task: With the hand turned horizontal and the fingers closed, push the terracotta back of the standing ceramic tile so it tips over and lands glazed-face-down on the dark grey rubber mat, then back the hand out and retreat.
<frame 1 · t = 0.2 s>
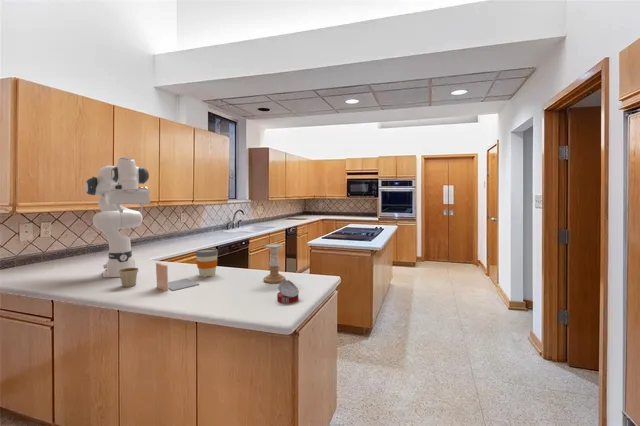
hand: (131, 212, 174), 39 cm above the countertop, tool pointing down, fingers open, 8 cm apart
canned food: (288, 300, 147), on the countertop
candle holder: (274, 280, 179), on the countertop
mat: (179, 284, 171), on the countertop
flower pot: (129, 285, 171), on the countertop
reusable coffee cup: (207, 275, 191), on the countertop
tile: (162, 288, 165), on the countertop
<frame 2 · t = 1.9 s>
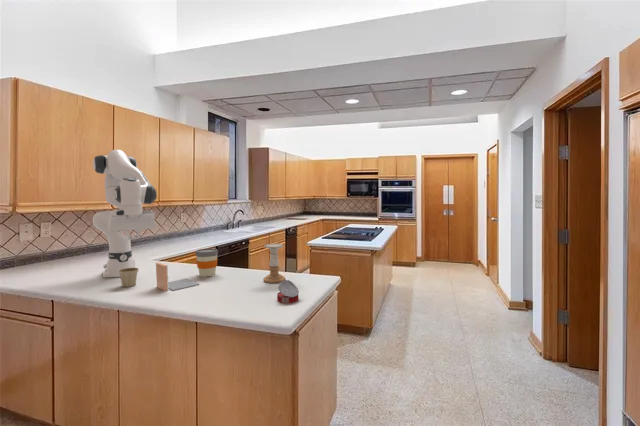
hand: (133, 239, 156), 27 cm above the countertop, tool pointing down, fingers closed
nothing on the countertop moved.
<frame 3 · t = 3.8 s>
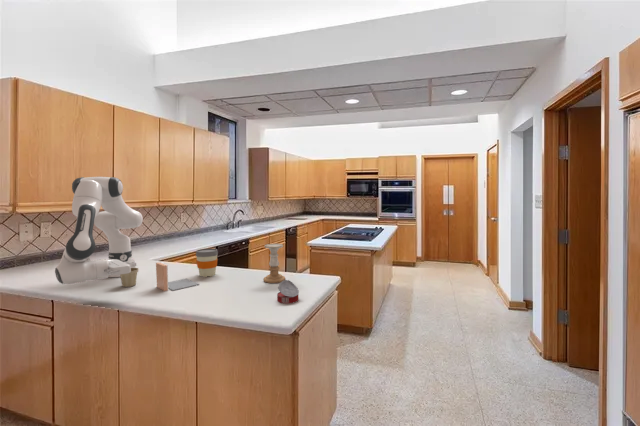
hand: (135, 264, 155), 15 cm above the countertop, tool horizontal, fingers closed
nothing on the countertop moved.
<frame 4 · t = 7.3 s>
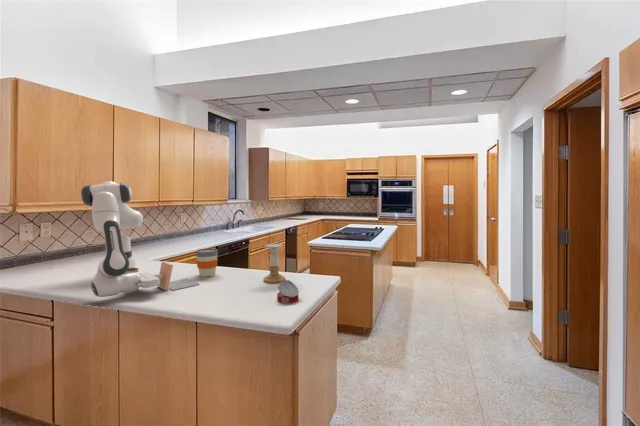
hand: (162, 276, 165), 6 cm above the countertop, tool horizontal, fingers closed
tile: (162, 288, 165), on the countertop, tilted 13°
everything else where it was.
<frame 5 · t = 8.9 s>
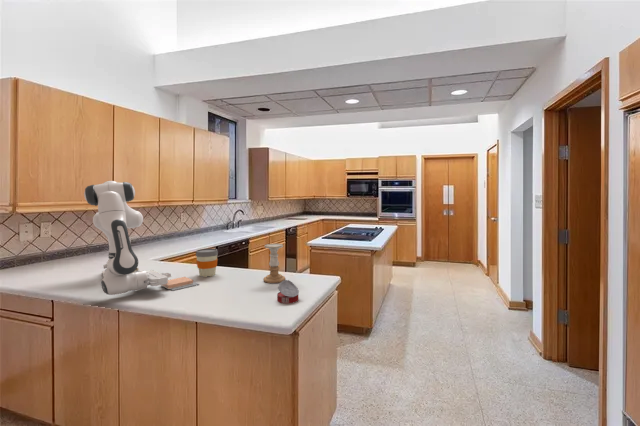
hand: (169, 274, 167), 7 cm above the countertop, tool horizontal, fingers closed
tile: (164, 285, 165), point 1 cm above the countertop, tilted 90°, touching mat
everything else where it was.
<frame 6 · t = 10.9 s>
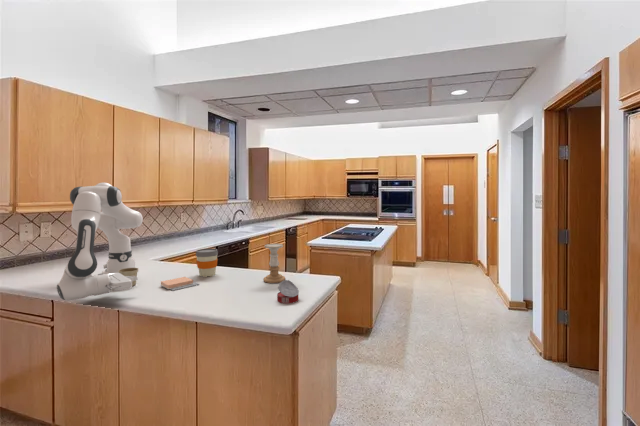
hand: (136, 277, 156), 8 cm above the countertop, tool horizontal, fingers closed
nothing on the countertop moved.
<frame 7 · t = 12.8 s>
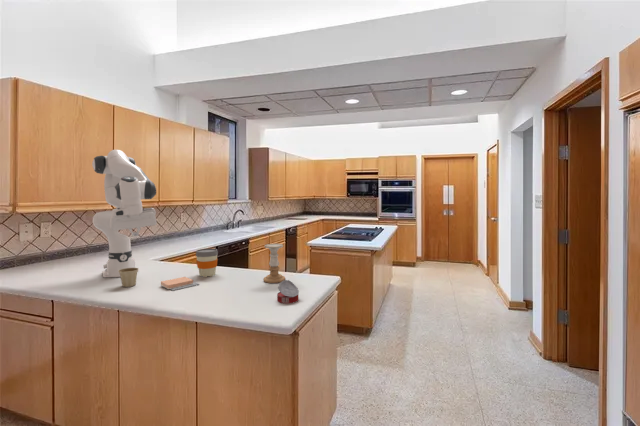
hand: (135, 235, 162), 28 cm above the countertop, tool pointing down, fingers closed
nothing on the countertop moved.
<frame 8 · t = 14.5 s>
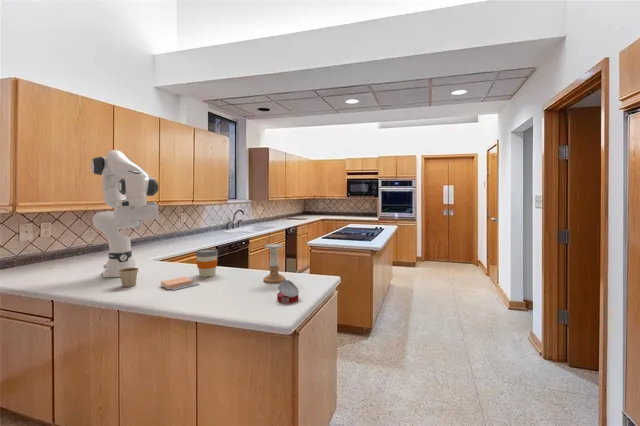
hand: (137, 229, 162), 31 cm above the countertop, tool pointing down, fingers closed
nothing on the countertop moved.
at the end: tile tilted 90°; tile inside the target area (6.0 cm from its centre), point 1.5 cm above the countertop; tile touching mat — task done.
